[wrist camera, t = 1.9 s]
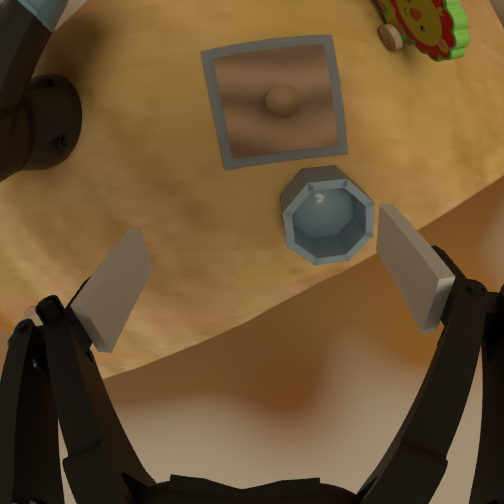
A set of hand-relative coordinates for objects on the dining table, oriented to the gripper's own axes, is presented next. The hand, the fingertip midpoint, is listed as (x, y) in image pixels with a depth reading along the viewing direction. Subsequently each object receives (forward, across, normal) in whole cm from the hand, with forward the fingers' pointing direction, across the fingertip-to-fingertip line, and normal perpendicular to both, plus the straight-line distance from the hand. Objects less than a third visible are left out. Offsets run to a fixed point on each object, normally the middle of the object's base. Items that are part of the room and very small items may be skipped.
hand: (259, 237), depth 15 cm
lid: (+23, +3, +6) cm, 24 cm away
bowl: (+23, +7, -8) cm, 26 cm away
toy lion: (+24, +18, +19) cm, 35 cm away
